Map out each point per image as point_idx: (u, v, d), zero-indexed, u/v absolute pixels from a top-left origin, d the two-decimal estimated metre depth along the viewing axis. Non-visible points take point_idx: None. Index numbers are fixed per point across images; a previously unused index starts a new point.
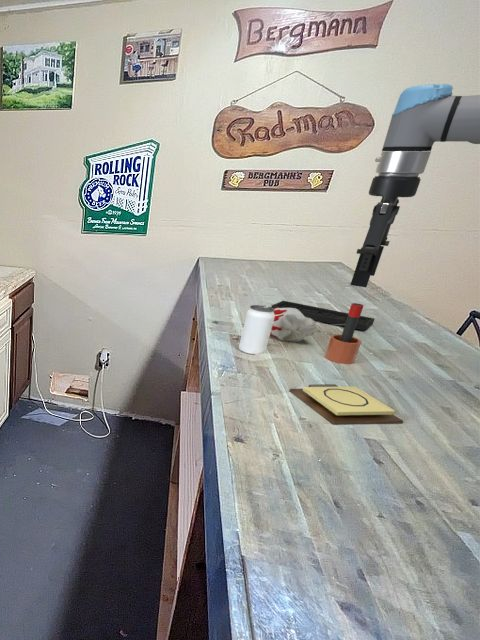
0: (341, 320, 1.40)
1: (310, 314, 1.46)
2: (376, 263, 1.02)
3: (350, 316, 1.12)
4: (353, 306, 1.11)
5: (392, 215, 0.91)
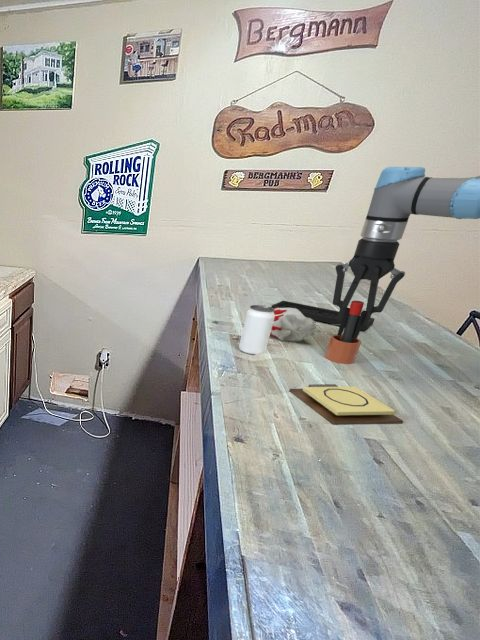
0: None
1: (310, 314, 1.46)
2: (345, 322, 1.15)
3: (352, 314, 1.11)
4: (355, 304, 1.10)
5: None
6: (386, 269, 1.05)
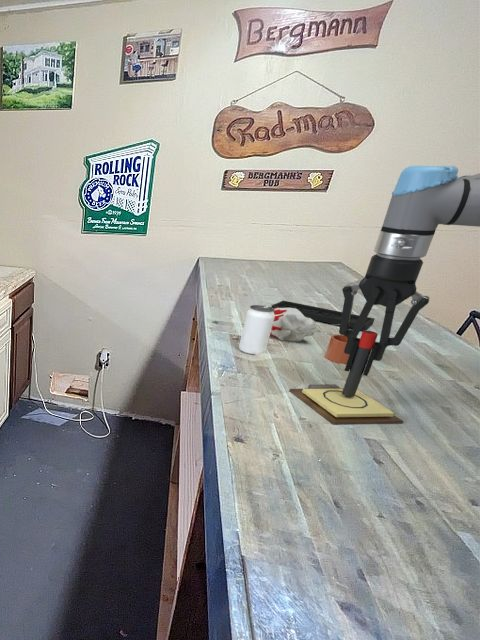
0: None
1: (310, 314, 1.46)
2: (354, 355, 0.94)
3: (363, 347, 0.90)
4: (367, 335, 0.89)
5: None
6: (406, 293, 0.84)
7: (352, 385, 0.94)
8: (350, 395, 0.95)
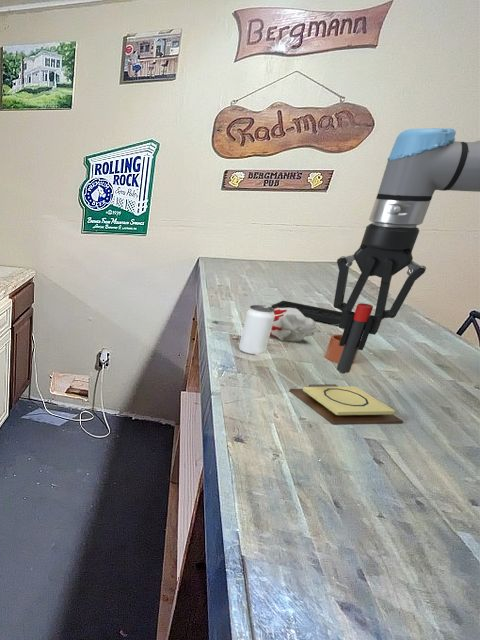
0: None
1: (310, 314, 1.46)
2: (349, 330, 0.92)
3: (358, 321, 0.88)
4: (362, 308, 0.87)
5: None
6: (402, 263, 0.82)
7: (347, 360, 0.91)
8: (345, 371, 0.92)
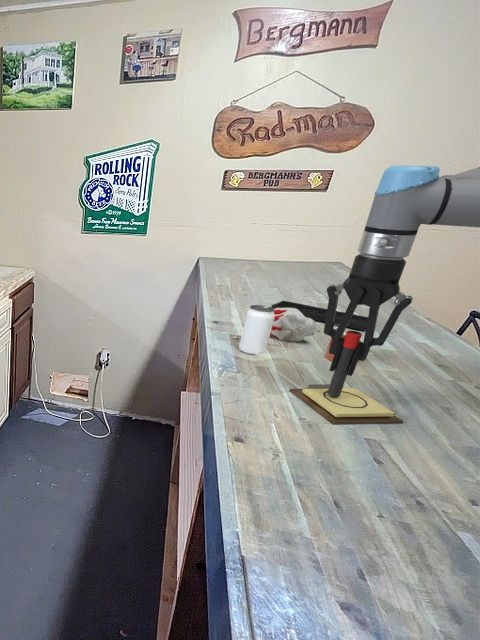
0: None
1: (310, 314, 1.46)
2: None
3: (347, 347, 0.90)
4: (351, 335, 0.89)
5: None
6: (389, 293, 0.84)
7: (337, 385, 0.94)
8: (335, 395, 0.95)
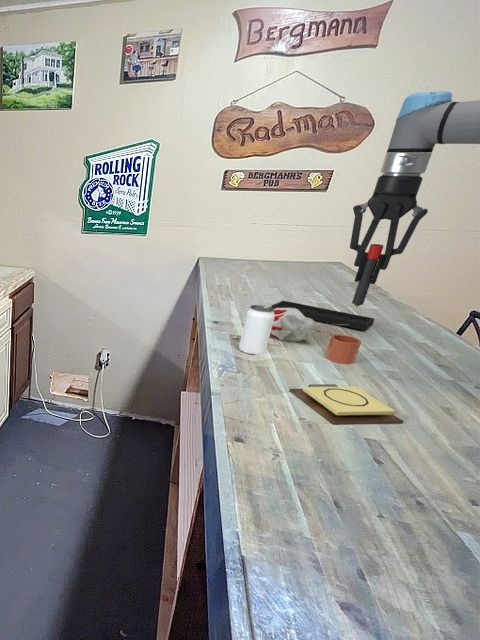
0: (341, 320, 1.40)
1: (310, 314, 1.46)
2: None
3: (371, 258, 1.05)
4: (374, 247, 1.04)
5: None
6: (408, 206, 0.98)
7: (361, 294, 1.08)
8: (359, 303, 1.09)
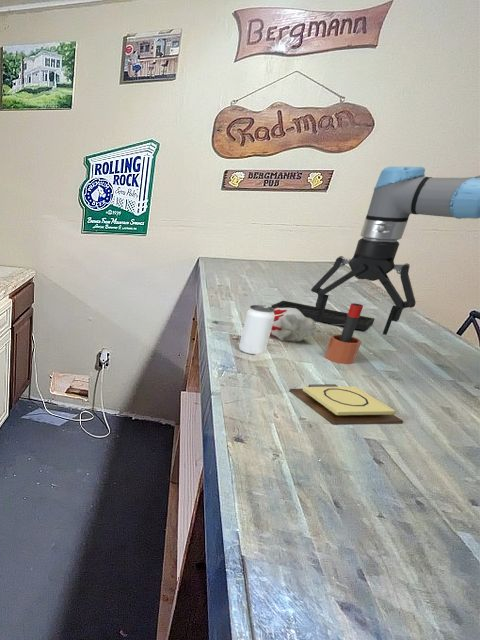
0: (341, 320, 1.40)
1: (310, 314, 1.46)
2: (324, 309, 1.17)
3: (351, 317, 1.11)
4: (354, 307, 1.10)
5: None
6: (388, 269, 1.04)
7: None
8: None
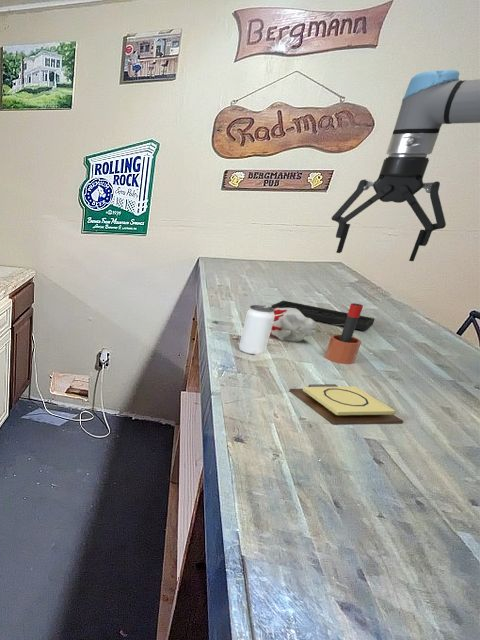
0: (341, 320, 1.40)
1: (310, 314, 1.46)
2: None
3: (351, 317, 1.11)
4: (354, 307, 1.10)
5: None
6: (416, 188, 0.97)
7: None
8: None
